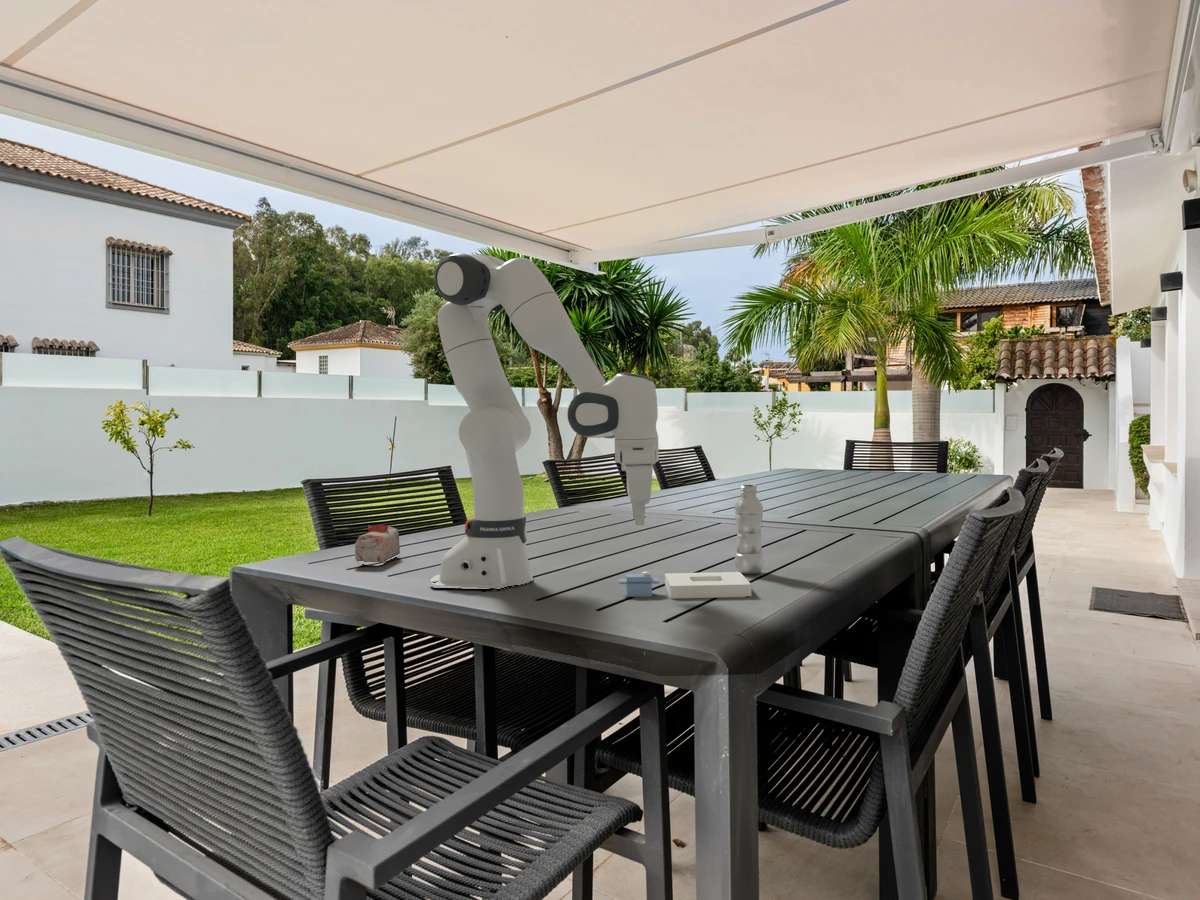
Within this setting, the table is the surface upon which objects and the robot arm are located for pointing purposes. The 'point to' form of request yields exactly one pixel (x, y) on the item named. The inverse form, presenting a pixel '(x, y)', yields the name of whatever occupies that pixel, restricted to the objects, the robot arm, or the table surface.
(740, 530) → the plastic bottle
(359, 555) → the food item
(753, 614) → the table surface
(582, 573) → the table surface
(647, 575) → the servo
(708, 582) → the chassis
